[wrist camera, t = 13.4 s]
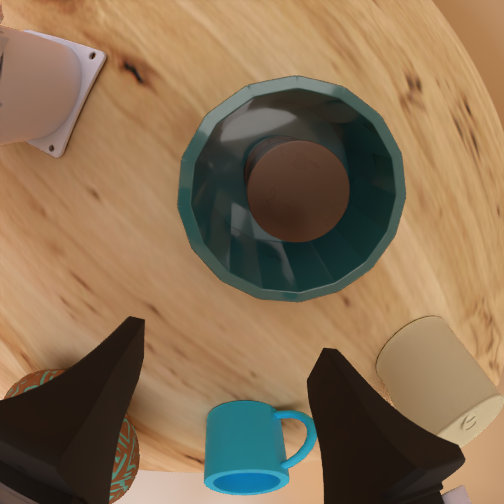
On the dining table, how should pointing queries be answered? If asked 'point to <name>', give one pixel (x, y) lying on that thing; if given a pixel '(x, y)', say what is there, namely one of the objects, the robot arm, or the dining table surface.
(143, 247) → the dining table surface
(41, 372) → the decorative sphere
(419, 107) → the dining table surface
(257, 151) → the spool
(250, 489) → the mug
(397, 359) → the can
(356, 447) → the robot arm
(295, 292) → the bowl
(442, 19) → the dining table surface
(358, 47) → the dining table surface
